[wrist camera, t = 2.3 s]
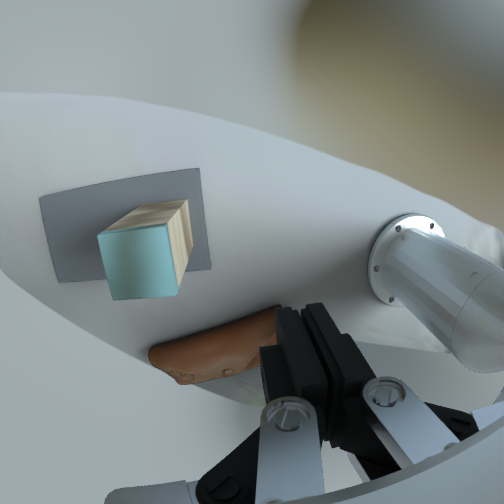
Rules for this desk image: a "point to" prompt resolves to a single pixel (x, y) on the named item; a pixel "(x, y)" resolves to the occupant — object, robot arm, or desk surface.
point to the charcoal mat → (115, 219)
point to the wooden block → (147, 250)
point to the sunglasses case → (217, 349)
